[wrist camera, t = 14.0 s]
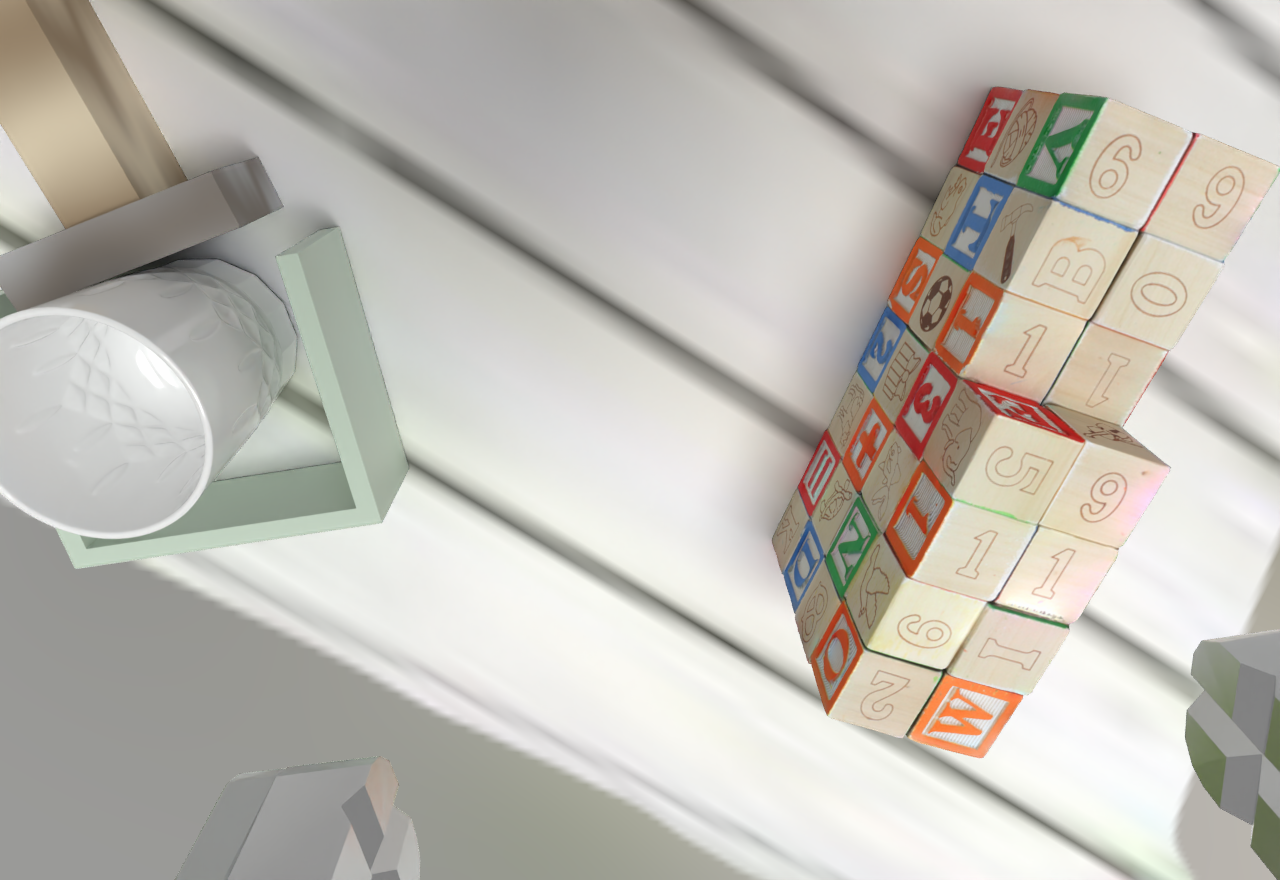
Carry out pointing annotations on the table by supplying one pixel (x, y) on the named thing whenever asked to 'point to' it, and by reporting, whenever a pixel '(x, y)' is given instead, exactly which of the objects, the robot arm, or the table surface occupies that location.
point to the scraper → (100, 159)
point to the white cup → (137, 394)
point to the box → (353, 414)
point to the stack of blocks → (1005, 412)
